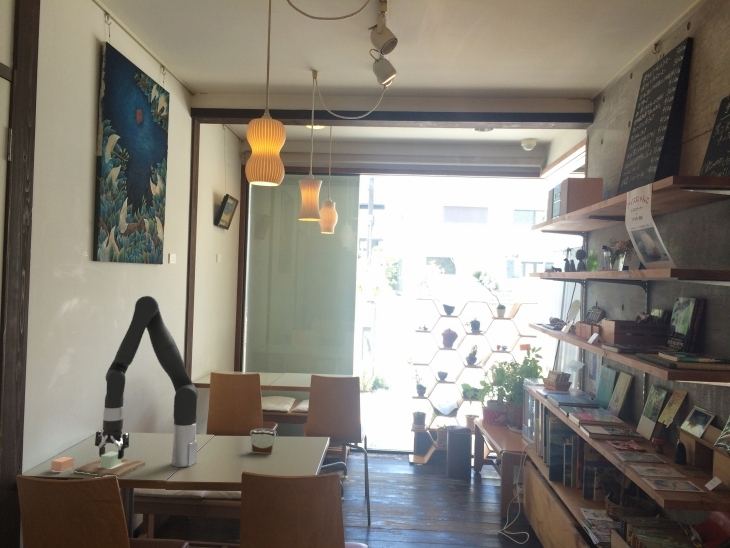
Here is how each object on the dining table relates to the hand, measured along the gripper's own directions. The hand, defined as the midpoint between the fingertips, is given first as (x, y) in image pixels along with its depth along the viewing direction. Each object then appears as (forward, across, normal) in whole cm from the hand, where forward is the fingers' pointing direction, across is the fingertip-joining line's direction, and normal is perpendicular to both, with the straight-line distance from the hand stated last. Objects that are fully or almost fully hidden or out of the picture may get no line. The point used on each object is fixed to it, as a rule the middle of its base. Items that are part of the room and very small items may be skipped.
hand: (111, 457), depth 217 cm
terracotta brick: (+5, +17, +7) cm, 19 cm away
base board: (+5, 0, 0) cm, 5 cm away
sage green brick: (+3, 0, 0) cm, 3 cm away
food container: (+5, -49, -43) cm, 65 cm away
